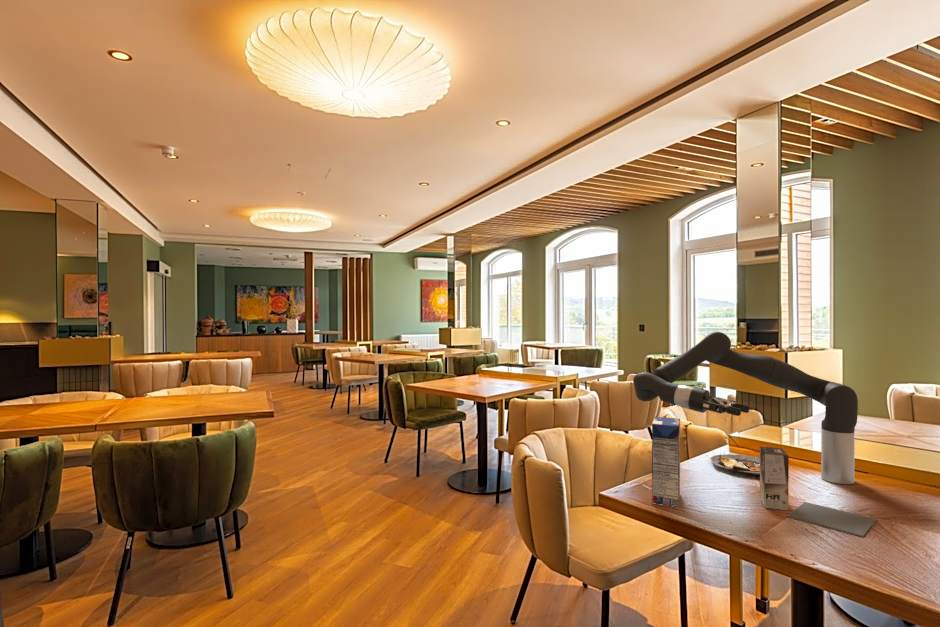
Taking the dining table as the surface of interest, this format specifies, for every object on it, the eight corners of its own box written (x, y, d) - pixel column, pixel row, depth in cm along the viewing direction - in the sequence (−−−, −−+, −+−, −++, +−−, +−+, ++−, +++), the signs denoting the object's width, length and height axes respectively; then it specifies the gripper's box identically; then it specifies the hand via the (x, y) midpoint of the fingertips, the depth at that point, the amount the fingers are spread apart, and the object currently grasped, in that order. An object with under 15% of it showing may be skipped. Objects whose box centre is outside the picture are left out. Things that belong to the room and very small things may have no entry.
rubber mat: (804, 503, 152) (804, 501, 152) (876, 520, 139) (876, 519, 139) (787, 517, 141) (787, 515, 141) (863, 537, 128) (863, 535, 128)
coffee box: (789, 511, 146) (789, 455, 146) (764, 508, 148) (764, 453, 148) (782, 500, 154) (782, 447, 154) (758, 497, 156) (758, 445, 156)
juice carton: (654, 491, 161) (654, 416, 161) (679, 494, 158) (680, 418, 158) (651, 504, 150) (652, 423, 150) (678, 508, 147) (679, 426, 147)
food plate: (793, 481, 171) (793, 471, 171) (718, 476, 178) (718, 465, 178) (771, 463, 195) (771, 454, 195) (706, 458, 202) (706, 449, 202)
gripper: (685, 388, 162) (739, 401, 151) (701, 385, 172) (753, 397, 161) (681, 411, 162) (736, 426, 151) (697, 407, 173) (749, 420, 161)
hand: (744, 411), depth 156 cm, fingers open, 8 cm apart
